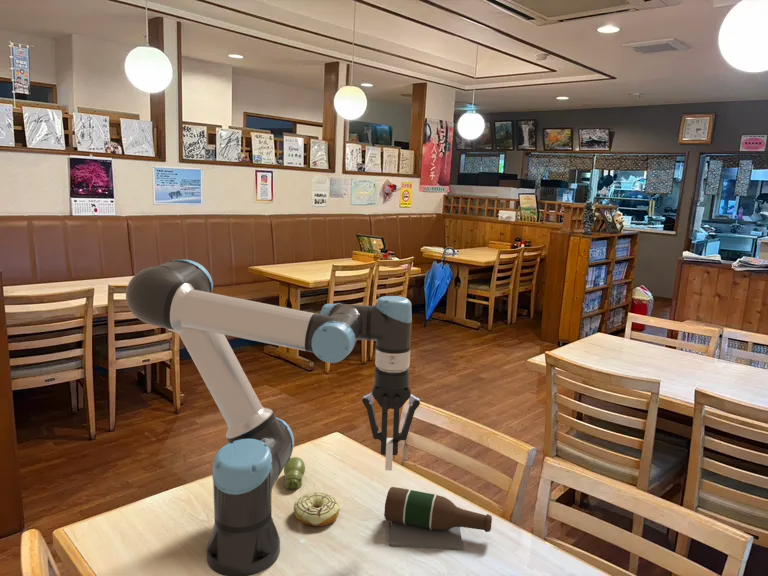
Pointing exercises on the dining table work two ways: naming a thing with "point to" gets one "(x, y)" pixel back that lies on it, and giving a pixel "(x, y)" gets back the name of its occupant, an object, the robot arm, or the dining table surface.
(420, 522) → the beer bottle
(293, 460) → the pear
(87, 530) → the dining table surface
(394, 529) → the mat
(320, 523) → the decorated donut
